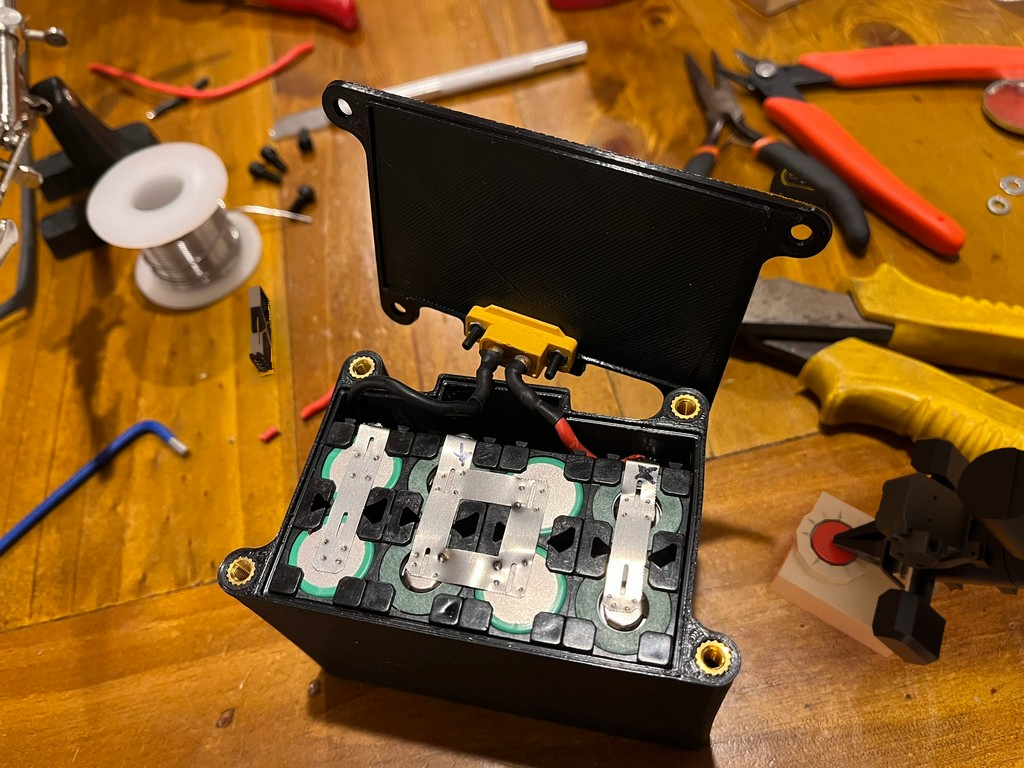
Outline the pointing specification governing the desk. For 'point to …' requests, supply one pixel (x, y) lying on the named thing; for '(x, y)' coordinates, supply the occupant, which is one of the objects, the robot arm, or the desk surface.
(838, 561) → the red button
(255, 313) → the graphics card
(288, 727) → the desk surface
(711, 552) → the desk surface
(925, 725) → the desk surface
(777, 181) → the tape measure
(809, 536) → the switch block
